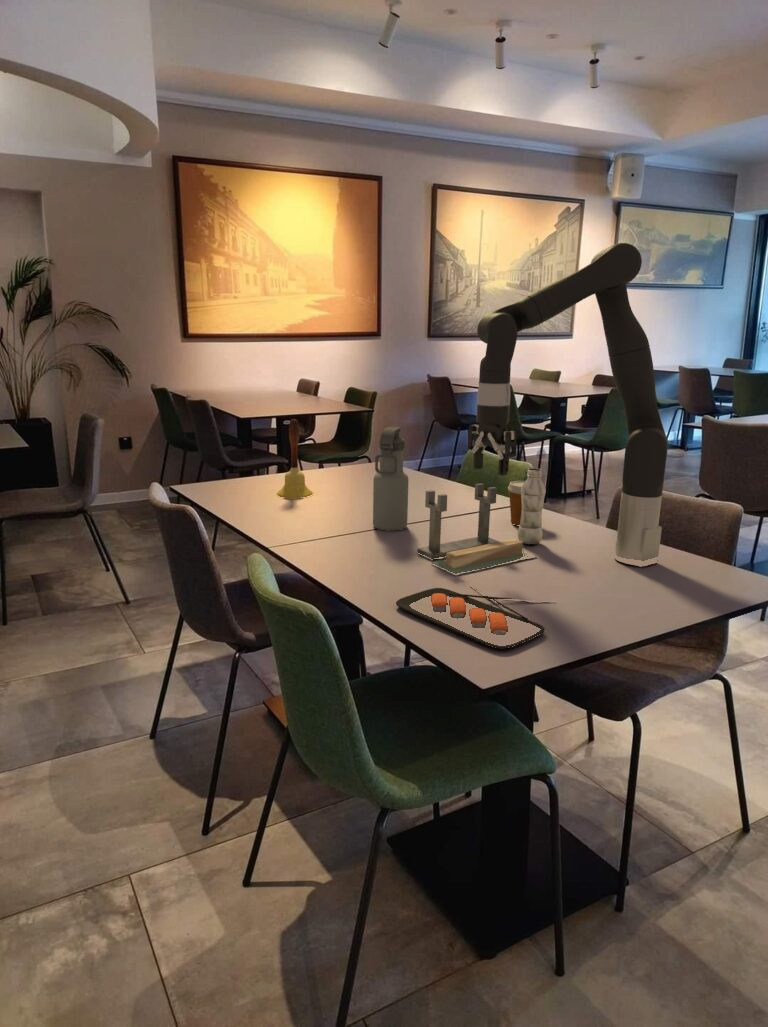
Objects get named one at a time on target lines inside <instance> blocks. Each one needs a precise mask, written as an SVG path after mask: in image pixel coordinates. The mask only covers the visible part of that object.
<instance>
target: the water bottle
mask: <svg viewBox="0 0 768 1027" xmlns="http://www.w3.org/2000/svg"><path fill="white" fill-rule="evenodd" d="M400 433H401V427H399V426H388V427H385V428H383V430H382V431H381V434H380V438H379V439H378V442H379V448H378V451H379V454H377V455H376V456H375V459H374V460H375V462H374V469H375V472H376V473H375V474H374V475H373V483H372V484H373V485H372V486H373V492H372V496H373V498H372V499H373V500H372V525H373V527H374V528H375V529H376V530H377V529H378V530H379V529H381V530H380V531H384V530H398V531H402V530H404V529H406V528H407V527H408V515H409V514H408V512H409V511H408V509H409V476H408V474H407V473H406V472H404V451H405V439H404V438H403V437H400ZM401 529H402V530H401Z"/></svg>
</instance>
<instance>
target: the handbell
mask: <svg viewBox="0 0 768 1027" xmlns="http://www.w3.org/2000/svg"><path fill="white" fill-rule="evenodd" d="M288 440H289V443H290V456H291V457H290V459H291V460H290V461H291V462H290V463H291V464H290V465H291V468H290V470H289V471H287V472H286V473H285V474H284V485H283V486H282V488H281V489H279V490H278V491H277V492H276V496H277V495H278V496H280V497H279V498H281V497H285V498H284V499H289V498H299V499H302V498H301V497H307V496H310V495H312V494H313V495H314V492H313V491H312V490H311V489H309V487H307V485H306V480H305V479H306V477H305V474H304V472H303V471H300V469H299V464H298V463H299V456H298V450H299V449H298V447H299V441H300V426H299V421H298V420H297V419H294V418H293V419H290V420H289V427H288ZM313 495H312V496H313ZM278 496H277V497H278ZM307 498H308V497H307Z"/></svg>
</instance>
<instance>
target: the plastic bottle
mask: <svg viewBox="0 0 768 1027" xmlns="http://www.w3.org/2000/svg"><path fill="white" fill-rule="evenodd" d="M542 470H543V469H541V468H536V467H532V468H531V467H530V468H527V474H526V477H527V478H526V480H524V481H525V482H524V484H523V485H522V487H521V498H522V514H521V521H520V526H519V527H518V531H517V540H519V541H522V542H523V544H525V545H530V544H534V545H538V543H539V544H541V541H542V539H543V527H542V523H543V522H542V515H543V506H544V503H545V502H544V501H545V498H546V491H547V490H546V486H545V484H544V482H543V481H542V476H543V474H542V473H543V471H542Z"/></svg>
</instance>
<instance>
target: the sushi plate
mask: <svg viewBox="0 0 768 1027" xmlns="http://www.w3.org/2000/svg"><path fill="white" fill-rule="evenodd" d="M429 596H431V602H432V606H433V611H434V612H440V613H441V612H446V605H448V603H447V596H449V597H453V598H451V599H450V600H449V606H450V615H451V617H452V618H457V619H458V618H464V617H465V615H466V605H465V602H466V603H469V604H472V605H475V606H476V607H478V608H472V609H470V610H469V616H470V620H471V624H472V627H473V628H485V625H486V621H487V616H486V612H485V610H488V611H491V612H495V613H491V614H489V616H488V618H489V622H490V629H491V633H493V634H496V635H505V634H506V632H508V626H507V621H506V618H505V616H509V617H511V618H514V619H517V620H520V621H523V622H526V623H530V624H532V625H534V626H536V627H538V628H540V629H541V630H540V631H539V632H537V633H536V634H534V635H532V636H530V637H528V638H525V639H524V640H521V641H519V642H517V643H514V644H511V645H506V646H498V645H494V644H491V643H488V642H485V641H483V640H481V639H478V638H476V637H474V636H472V635H470V634H467V633H465V632H463V631H460V630H458V629H456V628H454V627H452V626H450V625H448V624H445V623H443V622H441V621H439V620H436V619H434V618H432V617H429V616H427V615H424V614H422V613H420V612H418V611H416V610H414V609H412V608H411V607H410V606H409V605H410V604H411V603H413V602H416V601H418V600H420V599H422V598H425V597H429ZM488 596H489V595H488ZM488 596H482V595H476V594H475V595H474V594H465V593H464V594H463V593H459V592H456V591H453V590H450V589H447V588H442V587H433V588H429V589H426V590H422V591H418V592H415V593H413V594H409V595H407V596H405V597H401V598H400V599H398V600H396V602H395V605H396V606H397V607H398V608H399V609H402V610H403V611H406V612H408V613H410V614H412V615H413V616H414V615H415V616H417V617H420V618H422V619H424V620H426V621H429V622H432V623H433V624H436V625H438V626H440V627H442V628H445V629H447V630H449V631H451V630H452V632H454V633H456V632H457V633H456V634H458V633H460V634H459V635H461V634H462V635H461V636H463V635H464V637H465V636H467V637H466V638H468V637H469V638H468V639H470V638H471V640H472V639H474V640H473V641H475V640H477V641H479V642H482V643H484V644H487V645H490V646H493V647H496V648H495V649H497V648H508V647H512V646H514V645H517V644H520V643H522V642H524V641H527V640H529V639H531V638H533V637H535V636H537V635H539V634H541V633H542V634H544V632H545V631H544V630H545V627H544V626H543V625H541V624H539V623H537V622H535V621H532V620H531V619H529V618H528V617H527V616H524V615H523V614H521V613H519V612H517V611H515V610H514V609H512V608H510V607H509V606H506V605H505V604H503V603H501V602H499V601H498V599H512V597H511V598H510V597H500V596H499V597H497V596H489V597H488ZM475 598H479V599H487V598H488V600H489V599H493V600H494V601H496V602H497V603H498V604H497V603H496V604H497V605H499V604H500V605H499V606H501V605H502V606H503V607H502V606H501V607H502V608H505V610H504V609H501V608H499V607H496V606H493V605H491V604H489V603H485V602H483V601H479V600H478V599H475ZM506 609H507V610H508V611H507V610H506ZM542 634H541V635H542ZM539 636H540V635H539ZM537 637H538V636H537ZM535 638H536V637H535ZM533 639H534V638H533ZM531 640H532V639H531ZM477 641H476V642H477ZM529 641H530V640H529ZM479 642H478V643H479ZM527 642H528V641H527ZM482 643H481V644H482ZM484 644H483V645H484ZM522 644H523V643H522ZM487 645H486V646H487ZM520 645H521V644H520ZM490 646H489V647H490ZM493 647H492V648H493ZM512 648H513V647H512Z"/></svg>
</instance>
